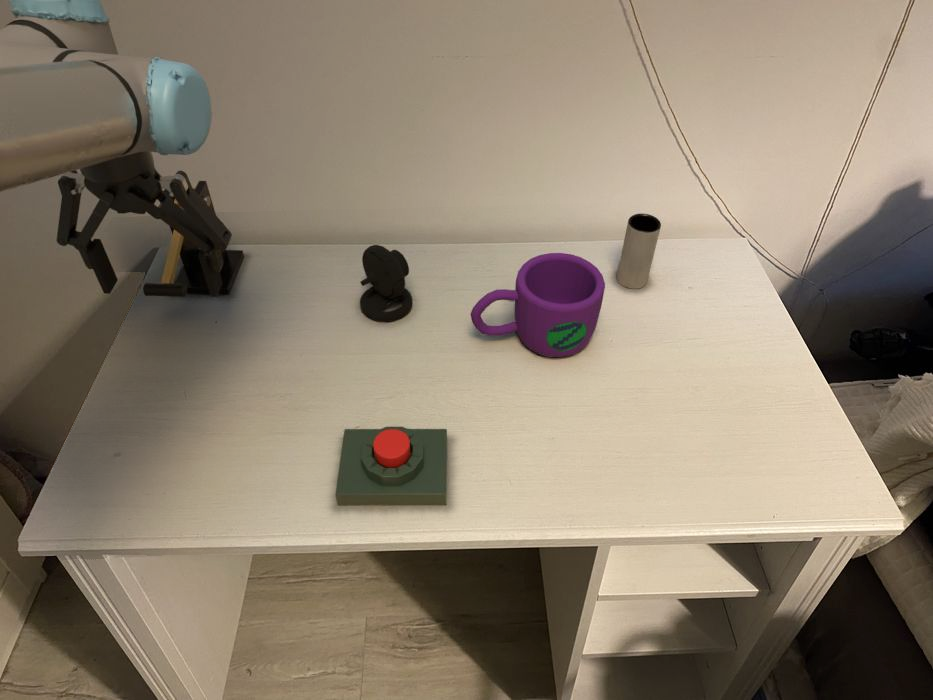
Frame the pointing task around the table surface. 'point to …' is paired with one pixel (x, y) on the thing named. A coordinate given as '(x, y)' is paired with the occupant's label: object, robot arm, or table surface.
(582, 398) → the table surface
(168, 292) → the switch lever
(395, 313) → the webcam
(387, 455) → the red button
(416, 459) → the button block
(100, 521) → the table surface
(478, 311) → the mug
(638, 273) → the grey hollow cylinder
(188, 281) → the switch bracket
